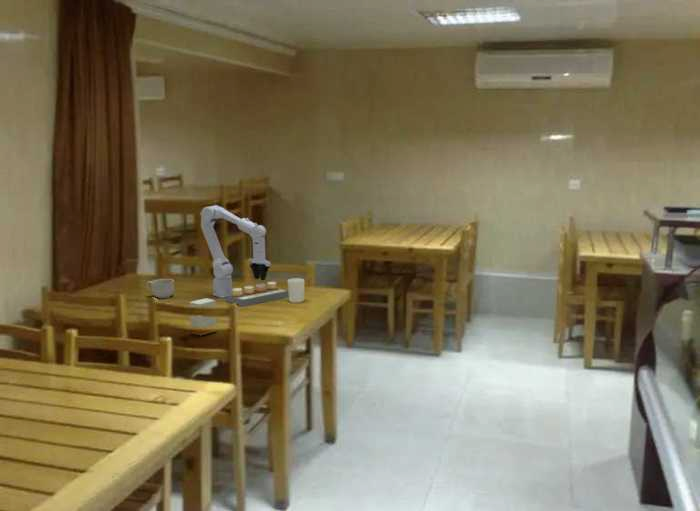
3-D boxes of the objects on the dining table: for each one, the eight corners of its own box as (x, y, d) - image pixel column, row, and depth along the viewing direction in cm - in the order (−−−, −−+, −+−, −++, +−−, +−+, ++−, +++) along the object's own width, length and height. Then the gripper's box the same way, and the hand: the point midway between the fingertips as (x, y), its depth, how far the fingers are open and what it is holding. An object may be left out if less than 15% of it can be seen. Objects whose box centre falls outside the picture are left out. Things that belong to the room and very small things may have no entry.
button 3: (254, 292, 318) (253, 284, 317) (261, 291, 321) (261, 283, 320) (259, 294, 315) (259, 286, 314) (267, 292, 318) (266, 284, 317)
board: (226, 301, 311) (225, 294, 311) (271, 292, 328) (271, 286, 328) (242, 306, 301) (242, 299, 300) (288, 297, 318) (288, 290, 318)
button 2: (242, 295, 314) (242, 286, 313) (250, 293, 317) (250, 285, 316) (248, 296, 311) (247, 288, 310) (255, 295, 313) (255, 286, 313)
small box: (207, 329, 265) (205, 297, 263) (217, 332, 261) (215, 300, 259) (190, 334, 259) (188, 301, 257) (200, 337, 255) (198, 304, 253)
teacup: (179, 295, 325) (178, 279, 324) (164, 300, 316) (163, 284, 314) (157, 293, 331) (156, 277, 330) (142, 298, 322) (140, 281, 320)
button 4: (265, 290, 322) (265, 282, 322) (272, 289, 325) (272, 281, 325) (270, 292, 319) (270, 283, 318) (278, 290, 322) (277, 282, 321)
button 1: (231, 297, 309) (230, 289, 309) (239, 295, 312) (238, 287, 312) (236, 298, 306) (235, 290, 306) (244, 297, 309) (243, 288, 308)
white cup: (302, 303, 306) (301, 282, 304) (286, 302, 307) (285, 281, 305) (307, 299, 313) (306, 278, 311) (291, 298, 315) (290, 278, 313)
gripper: (243, 250, 317) (244, 278, 319) (261, 254, 307) (262, 282, 309) (255, 248, 322) (256, 276, 324) (273, 252, 311) (274, 280, 314)
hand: (260, 279), depth 317 cm, fingers open, 4 cm apart
